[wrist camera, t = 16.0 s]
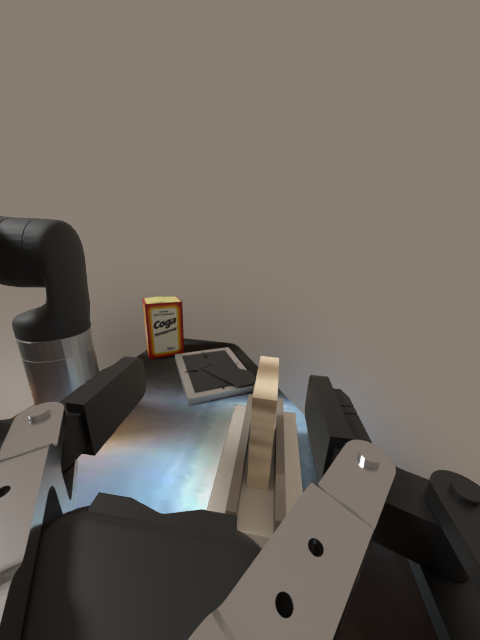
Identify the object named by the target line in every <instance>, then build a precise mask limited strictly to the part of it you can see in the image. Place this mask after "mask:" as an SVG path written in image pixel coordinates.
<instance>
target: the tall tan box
mask: <svg viewBox="0 0 480 640" xmlns="http://www.w3.org/2000/svg"><path fill="white" fill-rule="evenodd" d="M278 371H279V358H273V357H265V356H261V358H260V363H259V367H258V372H257V377H256V382H255V387H254V391H253V396H252V410H251V425H250V441H249V457H248V472H247V487H248V488H253V489H258V490H263V491H268V485H269V475H270V466H271V457H272V447H273V437H274V428H275V418H276V408H277V394H278Z"/></svg>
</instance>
